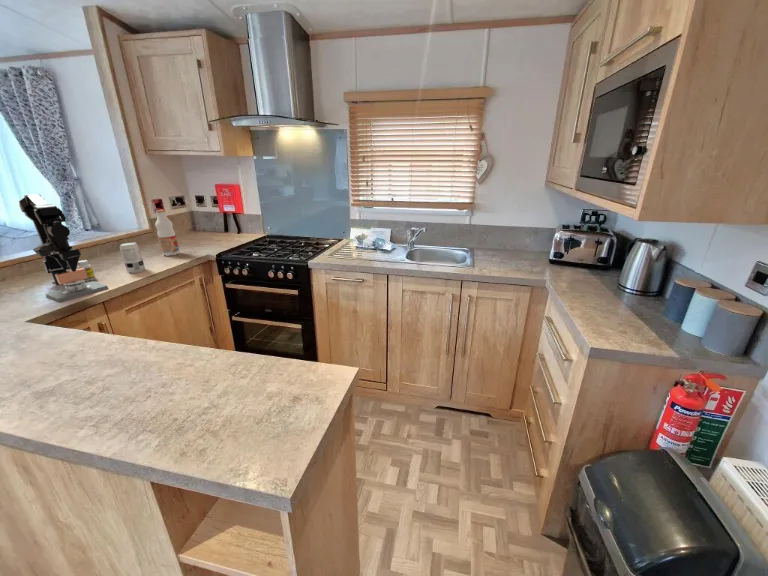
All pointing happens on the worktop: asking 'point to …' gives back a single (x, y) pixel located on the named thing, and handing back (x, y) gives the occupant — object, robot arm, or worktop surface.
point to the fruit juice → (166, 234)
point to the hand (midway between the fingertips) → (69, 270)
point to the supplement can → (132, 257)
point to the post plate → (76, 292)
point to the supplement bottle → (86, 269)
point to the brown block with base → (72, 279)
